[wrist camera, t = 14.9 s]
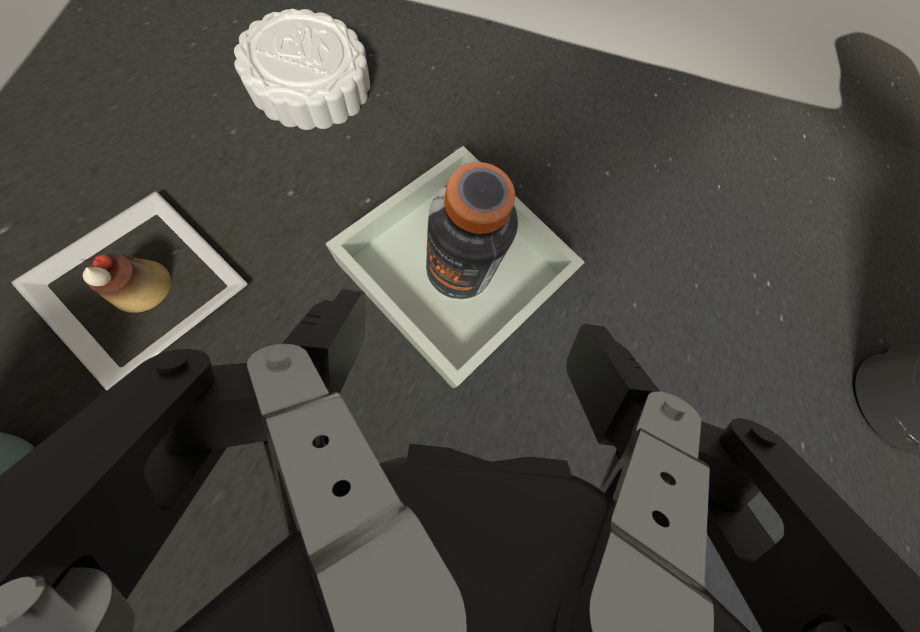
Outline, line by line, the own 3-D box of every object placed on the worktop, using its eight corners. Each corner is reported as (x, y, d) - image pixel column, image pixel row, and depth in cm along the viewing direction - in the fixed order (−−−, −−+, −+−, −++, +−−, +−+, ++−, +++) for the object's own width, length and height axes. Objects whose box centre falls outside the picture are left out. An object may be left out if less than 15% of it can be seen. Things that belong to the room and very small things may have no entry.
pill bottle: (411, 273, 28) (405, 192, 18) (452, 227, 30) (470, 127, 19) (466, 314, 28) (494, 257, 17) (504, 265, 30) (552, 185, 19)
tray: (458, 172, 33) (463, 145, 29) (567, 277, 31) (584, 262, 28) (336, 262, 29) (325, 243, 25) (452, 388, 27) (457, 386, 24)
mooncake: (386, 62, 36) (382, 25, 32) (346, 147, 32) (337, 116, 29) (279, 27, 35) (264, -14, 32) (227, 109, 32) (204, 74, 28)
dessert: (165, 198, 29) (117, 159, 25) (254, 288, 28) (222, 266, 23) (27, 287, 26) (-58, 262, 21) (121, 393, 25) (53, 390, 20)
